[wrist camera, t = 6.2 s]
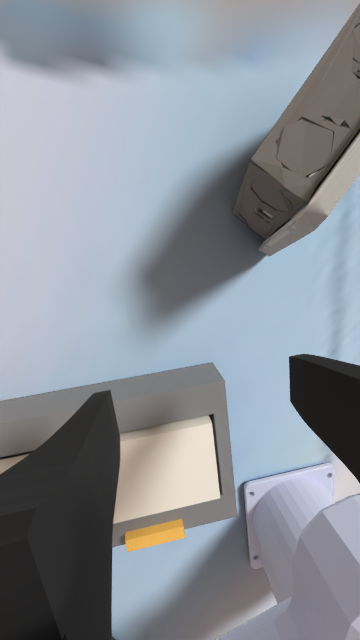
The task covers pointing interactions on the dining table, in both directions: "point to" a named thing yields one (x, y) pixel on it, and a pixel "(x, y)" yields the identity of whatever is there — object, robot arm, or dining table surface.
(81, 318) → the dining table surface
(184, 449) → the right button
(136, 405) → the switch unit
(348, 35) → the electrical switch
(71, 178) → the dining table surface
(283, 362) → the dining table surface
